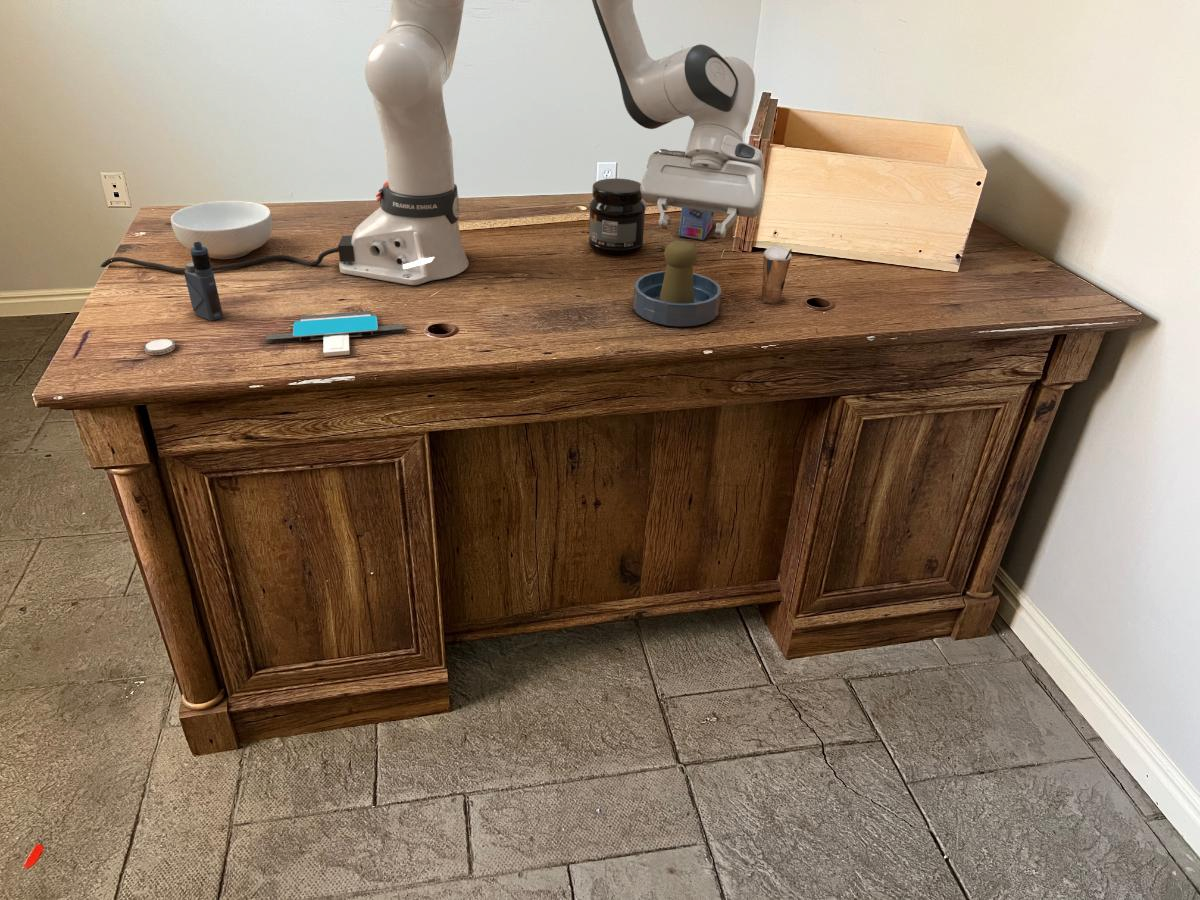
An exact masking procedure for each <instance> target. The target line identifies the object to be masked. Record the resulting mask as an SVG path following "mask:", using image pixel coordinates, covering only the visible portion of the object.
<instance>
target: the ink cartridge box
mask: <svg viewBox="0 0 1200 900" xmlns="http://www.w3.org/2000/svg"><path fill="white" fill-rule="evenodd" d="M714 217H715V212H709V211H702V210H695V209H688V208H681V213H680V221H679V230H678V237H682V238H688V239H694V240H699V241H704V240H705V238H706V237H707V235H708V234H709V233H710V231H711V229H712V228H713V223H714Z"/></svg>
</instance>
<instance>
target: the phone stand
mask: <svg viewBox="0 0 1200 900" xmlns="http://www.w3.org/2000/svg"><path fill="white" fill-rule="evenodd" d="M402 333H403V334H404V333H405V325H404V324H403V323H401V324H391V325H389V324H388V325H387V324H386V325H379V323H378V317H377V315H373V312H372V310H364V311H350V312H337V313H324V314H311V315H309V314H308V315H299V316H298V318H297V320H296V321H294V322H293V329H292V332H286V333H285V332H284V333H274V334H266V335H265V340H266V344H276V343H278V344H279V347H280V346H281V345H280V344H283V343H284V344H285V343H296V342H297V343H298V342H308V341H320V340H323V343H322V344H323V345H322V346H323V347H322V348H323V349H322V350H323V352H322V354H323V358H325V357H335V356H349V355H351V351H350V338H359V337H370V336H371V337H372V336H382V335H394V334H402Z"/></svg>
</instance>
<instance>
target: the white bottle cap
mask: <svg viewBox="0 0 1200 900" xmlns="http://www.w3.org/2000/svg"><path fill="white" fill-rule="evenodd" d="M175 349H176V345H175V341H174V340H173V339H171V338H169V339H168V338H159V339H154V340H151V341H148V342H147V343H145V344H144V346H143V350H144V352H145V354H146V355H151V356H159V355H160V356H161V355H165V354H168V353H170V352H172V351H174V350H175Z"/></svg>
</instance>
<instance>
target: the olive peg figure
mask: <svg viewBox="0 0 1200 900" xmlns="http://www.w3.org/2000/svg"><path fill="white" fill-rule="evenodd" d="M663 255H664V260H665V262H666V266H665V270H664V271H665V275H664V280H663V284H662V289H661V294H660V298H659V300H660V301H664V302H669V303H681V304H685V303H694V291H693V273H694V268H693V267H694V266H693V265H694V264H695V263H696V261H697V258H698V249H697V247H696V246H695V245H694V244H693V243H691V242H689V241H684V240H674V241H670V242H669V243H668V244H667V245H666V246H665V249H664V254H663Z"/></svg>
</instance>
